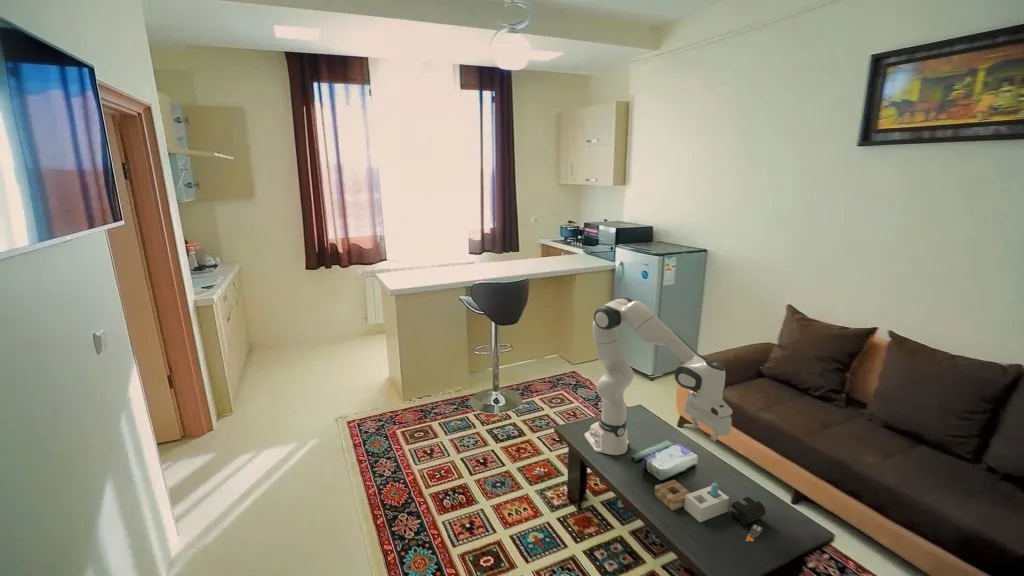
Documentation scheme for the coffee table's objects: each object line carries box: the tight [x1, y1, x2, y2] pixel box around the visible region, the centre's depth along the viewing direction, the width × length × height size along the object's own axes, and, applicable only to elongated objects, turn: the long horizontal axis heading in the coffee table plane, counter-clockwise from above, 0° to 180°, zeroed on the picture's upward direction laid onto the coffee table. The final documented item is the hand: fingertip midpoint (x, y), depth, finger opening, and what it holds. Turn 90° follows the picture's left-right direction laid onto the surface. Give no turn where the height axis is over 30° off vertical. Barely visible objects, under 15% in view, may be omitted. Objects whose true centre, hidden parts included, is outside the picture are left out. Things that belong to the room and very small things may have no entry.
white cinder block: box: [683, 485, 730, 523], centre depth 176 cm, size 8×14×6 cm, turn 114°
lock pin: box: [710, 482, 719, 499], centre depth 177 cm, size 2×2×10 cm
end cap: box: [730, 496, 766, 526], centre depth 171 cm, size 10×7×7 cm
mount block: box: [653, 479, 691, 511], centre depth 182 cm, size 10×10×4 cm
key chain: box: [745, 523, 764, 543], centre depth 163 cm, size 13×4×2 cm, turn 135°
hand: (704, 433), depth 181 cm, fingers open, 8 cm apart
